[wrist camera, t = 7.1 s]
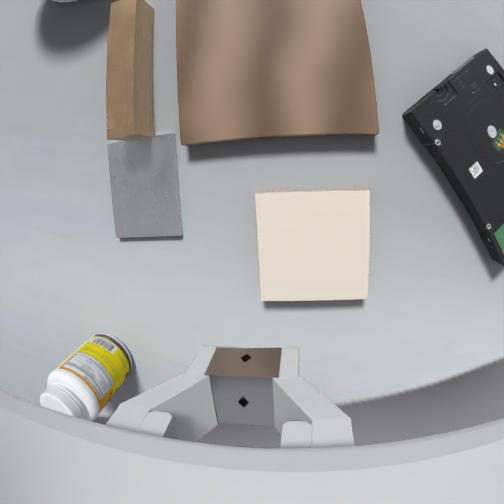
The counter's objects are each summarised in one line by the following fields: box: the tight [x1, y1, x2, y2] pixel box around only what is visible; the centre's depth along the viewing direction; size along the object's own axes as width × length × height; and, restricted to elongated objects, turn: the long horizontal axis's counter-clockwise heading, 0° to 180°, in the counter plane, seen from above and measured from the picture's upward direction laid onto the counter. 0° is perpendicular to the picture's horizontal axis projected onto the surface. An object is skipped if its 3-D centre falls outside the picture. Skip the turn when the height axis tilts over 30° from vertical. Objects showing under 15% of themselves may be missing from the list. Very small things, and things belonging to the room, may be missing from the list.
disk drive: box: [402, 49, 504, 266], centre depth 19 cm, size 10×3×15 cm
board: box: [176, 0, 379, 146], centre depth 19 cm, size 14×22×2 cm, turn 4°
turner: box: [106, 0, 183, 238], centre depth 22 cm, size 20×6×3 cm, turn 3°
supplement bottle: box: [40, 333, 132, 421], centre depth 25 cm, size 6×6×10 cm
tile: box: [255, 189, 370, 301], centre depth 24 cm, size 2×8×8 cm
